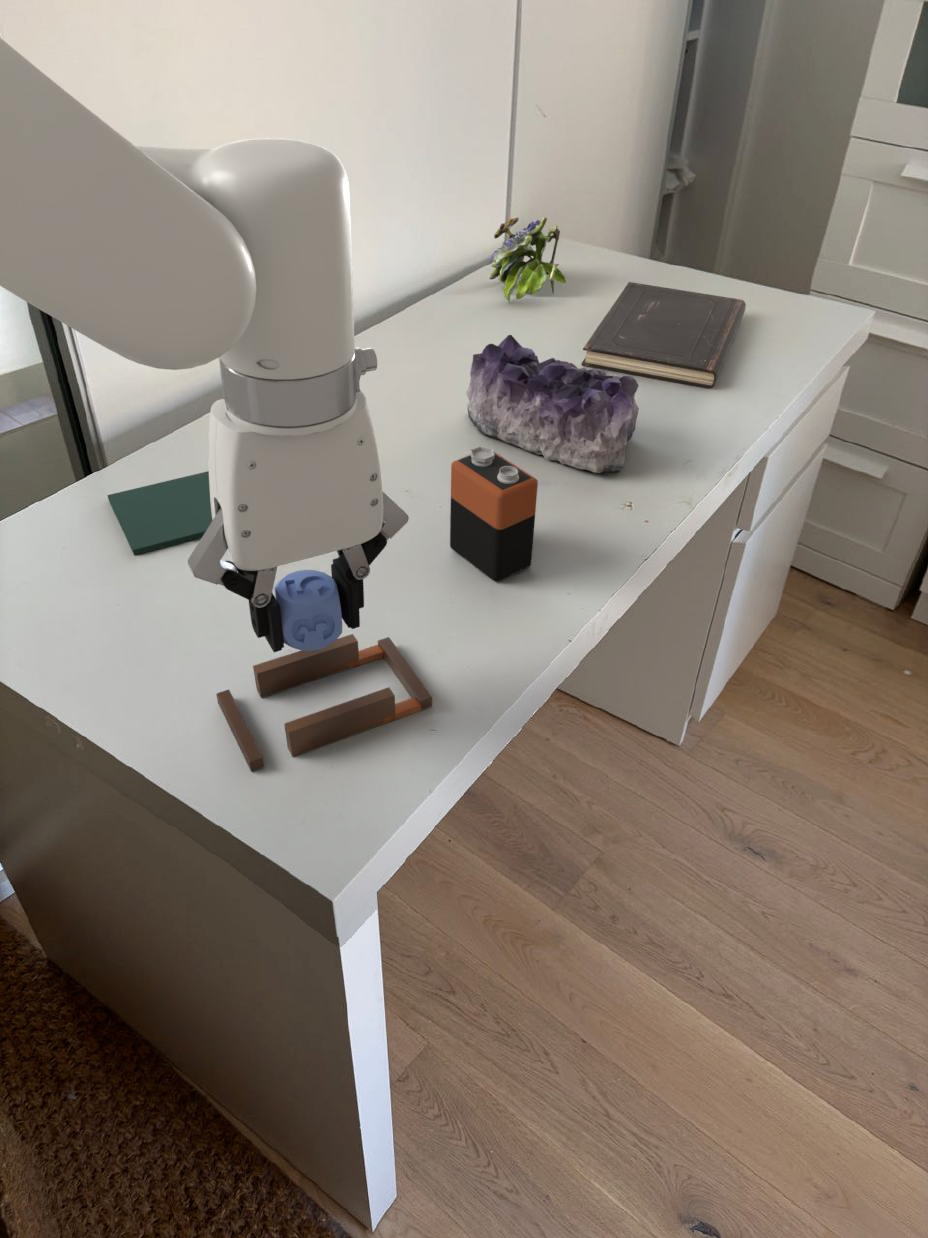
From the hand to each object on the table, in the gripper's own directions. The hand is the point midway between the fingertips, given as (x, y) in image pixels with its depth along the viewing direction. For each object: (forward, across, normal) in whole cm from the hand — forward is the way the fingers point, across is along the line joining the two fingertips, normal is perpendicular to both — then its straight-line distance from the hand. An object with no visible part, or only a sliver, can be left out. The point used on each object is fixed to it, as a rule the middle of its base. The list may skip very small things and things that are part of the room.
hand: (309, 625), depth 66 cm
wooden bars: (+8, -1, 0) cm, 8 cm away
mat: (+8, -1, -30) cm, 31 cm away
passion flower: (+7, -57, -64) cm, 85 cm away
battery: (+8, -21, -11) cm, 24 cm away
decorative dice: (+1, 0, 0) cm, 1 cm away
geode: (+7, -37, -26) cm, 46 cm away
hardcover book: (+7, -64, -41) cm, 76 cm away
